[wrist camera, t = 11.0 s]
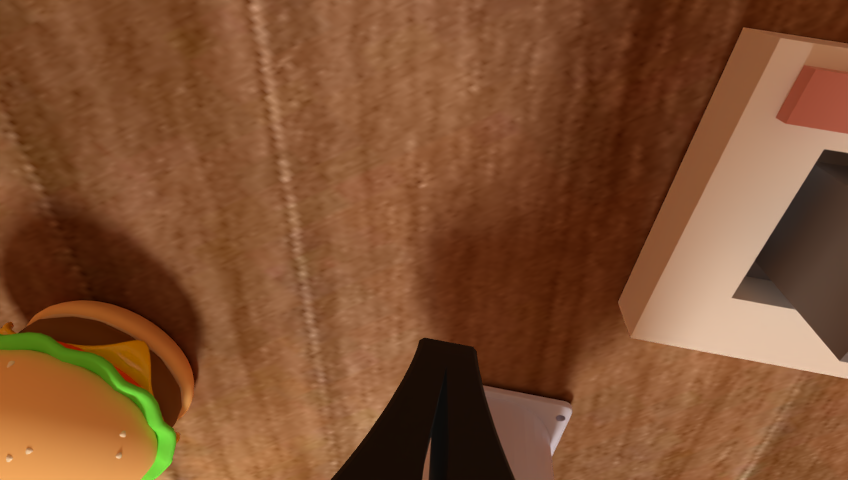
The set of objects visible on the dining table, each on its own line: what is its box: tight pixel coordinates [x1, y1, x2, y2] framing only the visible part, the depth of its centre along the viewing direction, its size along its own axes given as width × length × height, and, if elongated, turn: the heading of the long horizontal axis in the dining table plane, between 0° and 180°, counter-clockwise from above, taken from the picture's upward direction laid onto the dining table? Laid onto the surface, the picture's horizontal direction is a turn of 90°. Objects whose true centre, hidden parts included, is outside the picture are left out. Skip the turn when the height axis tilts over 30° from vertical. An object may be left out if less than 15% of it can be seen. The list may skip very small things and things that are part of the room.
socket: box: [618, 27, 848, 378], centre depth 17 cm, size 12×12×3 cm
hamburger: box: [0, 300, 194, 480], centre depth 25 cm, size 12×12×9 cm
